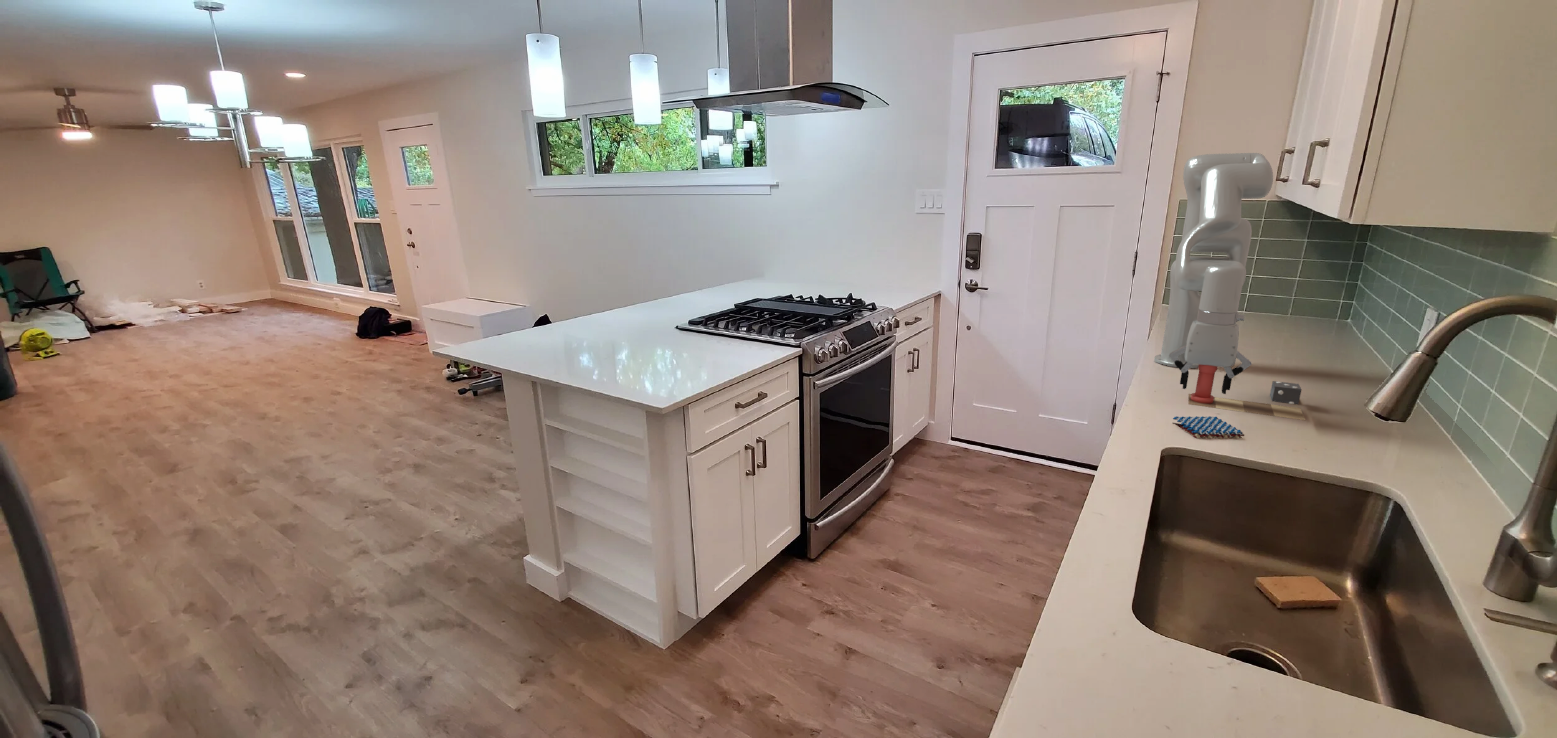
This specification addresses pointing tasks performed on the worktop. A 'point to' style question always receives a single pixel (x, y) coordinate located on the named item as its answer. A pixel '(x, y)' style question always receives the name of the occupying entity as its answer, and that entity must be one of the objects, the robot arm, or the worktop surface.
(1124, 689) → the worktop surface
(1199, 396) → the pawn
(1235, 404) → the board
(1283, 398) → the die
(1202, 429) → the woven mat
